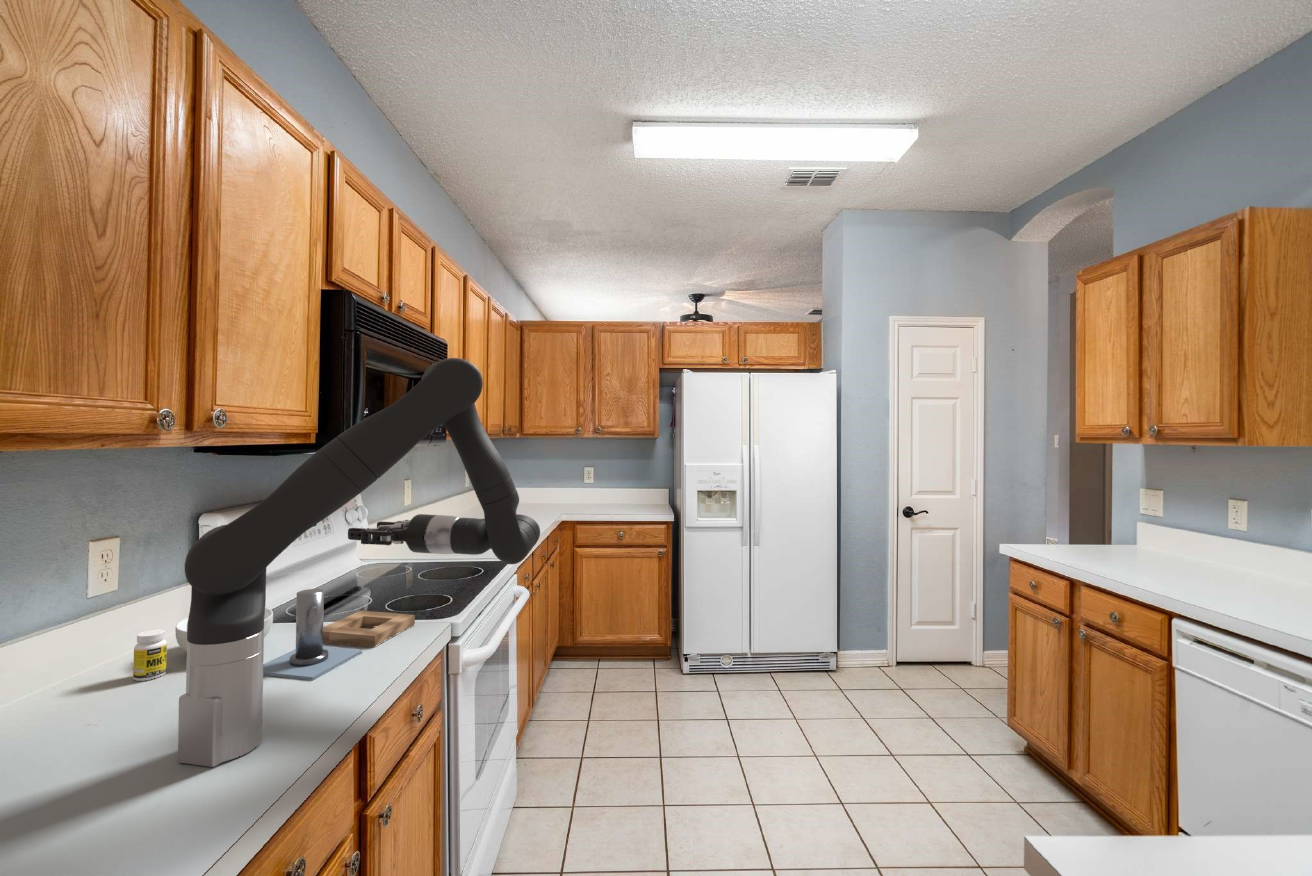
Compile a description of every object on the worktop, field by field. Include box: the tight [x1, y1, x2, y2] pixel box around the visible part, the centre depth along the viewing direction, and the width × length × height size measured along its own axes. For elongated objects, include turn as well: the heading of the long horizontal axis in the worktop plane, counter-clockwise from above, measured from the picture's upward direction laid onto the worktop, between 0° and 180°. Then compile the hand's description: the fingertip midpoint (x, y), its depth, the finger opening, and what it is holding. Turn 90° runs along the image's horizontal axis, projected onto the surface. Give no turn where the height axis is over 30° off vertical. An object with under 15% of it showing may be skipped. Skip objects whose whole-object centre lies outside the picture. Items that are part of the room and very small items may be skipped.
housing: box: [323, 610, 416, 647], centre depth 134 cm, size 15×15×2 cm
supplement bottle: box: [132, 629, 168, 682], centre depth 109 cm, size 5×5×8 cm
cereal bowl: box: [175, 607, 274, 652], centre depth 122 cm, size 17×17×7 cm
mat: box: [263, 645, 363, 681], centre depth 117 cm, size 14×14×1 cm
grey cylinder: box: [290, 588, 328, 667], centre depth 117 cm, size 7×7×14 cm
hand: (363, 530), depth 114 cm, fingers open, 8 cm apart
